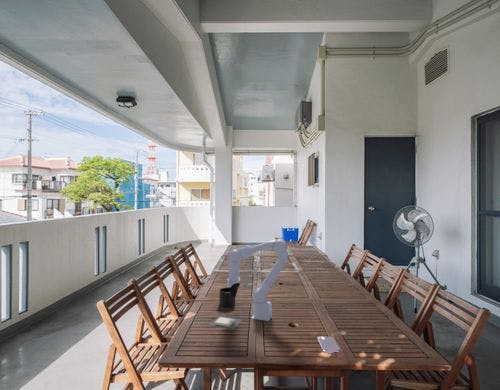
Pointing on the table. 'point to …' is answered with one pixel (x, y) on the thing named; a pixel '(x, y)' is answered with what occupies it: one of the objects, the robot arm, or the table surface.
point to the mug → (226, 298)
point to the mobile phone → (328, 344)
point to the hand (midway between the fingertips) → (233, 296)
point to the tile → (224, 321)
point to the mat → (225, 326)
